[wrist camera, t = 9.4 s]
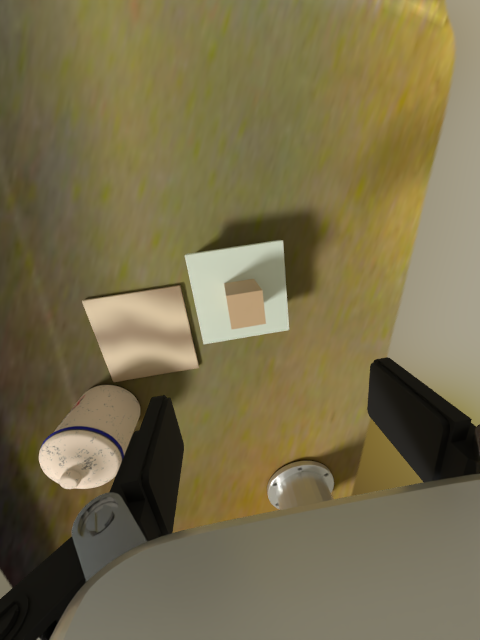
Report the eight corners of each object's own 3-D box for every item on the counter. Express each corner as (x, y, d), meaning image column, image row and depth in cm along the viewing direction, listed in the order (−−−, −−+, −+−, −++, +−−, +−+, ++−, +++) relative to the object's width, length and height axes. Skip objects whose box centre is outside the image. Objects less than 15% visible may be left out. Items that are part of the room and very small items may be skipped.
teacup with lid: (75, 379, 35) (12, 450, 24) (143, 384, 36) (112, 452, 25) (81, 444, 39) (30, 529, 28) (142, 446, 40) (115, 528, 29)
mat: (198, 365, 36) (198, 367, 35) (115, 379, 35) (113, 382, 35) (180, 284, 31) (179, 285, 31) (84, 299, 31) (81, 301, 30)
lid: (286, 325, 30) (303, 350, 24) (204, 339, 29) (201, 367, 24) (280, 239, 26) (298, 243, 20) (186, 254, 26) (177, 262, 20)
